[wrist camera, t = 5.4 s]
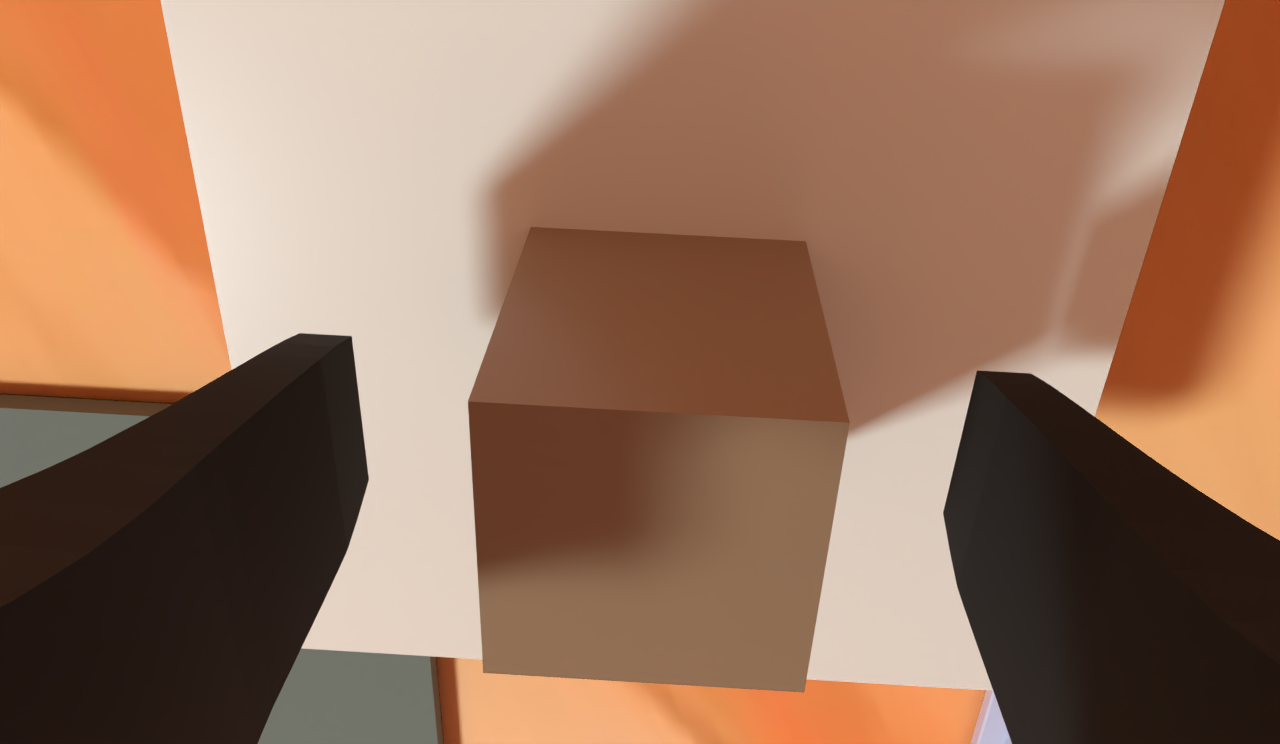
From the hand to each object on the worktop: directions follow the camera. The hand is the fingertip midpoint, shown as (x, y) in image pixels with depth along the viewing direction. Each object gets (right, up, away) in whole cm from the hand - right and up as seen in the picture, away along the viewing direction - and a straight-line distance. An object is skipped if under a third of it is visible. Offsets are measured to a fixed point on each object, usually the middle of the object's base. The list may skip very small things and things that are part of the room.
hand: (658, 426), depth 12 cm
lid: (0, +1, +3) cm, 3 cm away
